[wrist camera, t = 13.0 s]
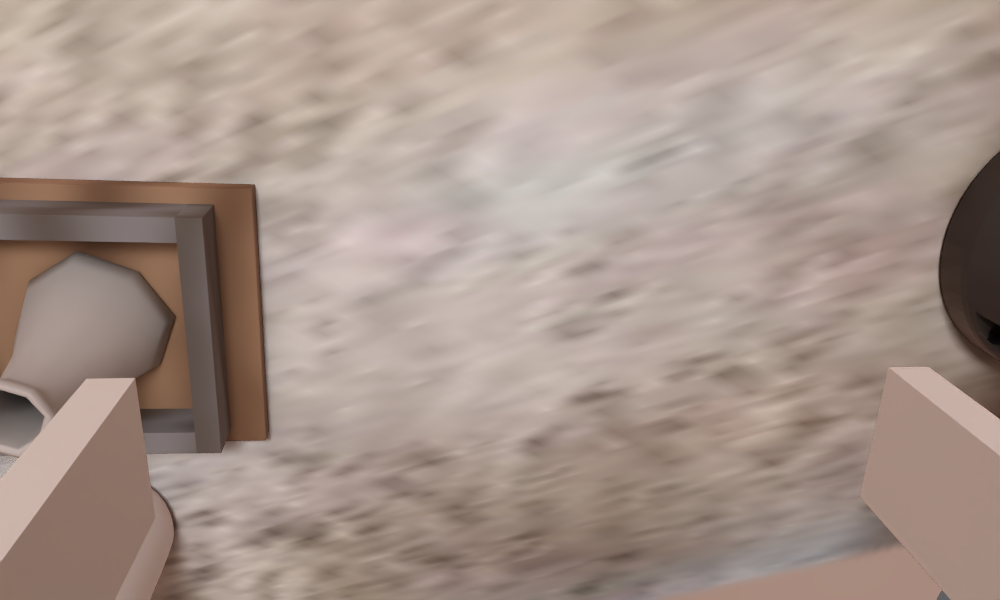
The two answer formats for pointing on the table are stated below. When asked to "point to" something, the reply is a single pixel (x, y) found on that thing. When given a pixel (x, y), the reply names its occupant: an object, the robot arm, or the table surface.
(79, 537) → the robot arm
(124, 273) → the flask
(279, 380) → the table surface
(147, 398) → the rectangular tray
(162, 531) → the milk bottle
